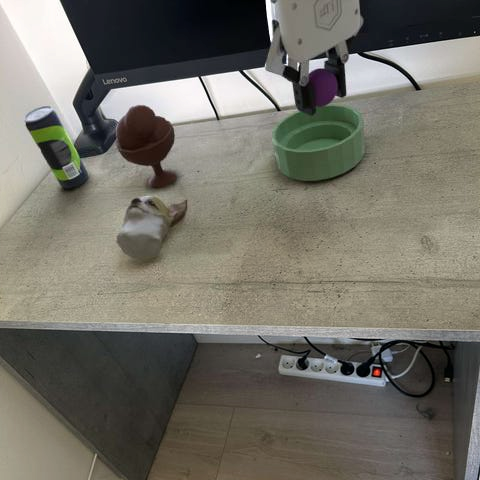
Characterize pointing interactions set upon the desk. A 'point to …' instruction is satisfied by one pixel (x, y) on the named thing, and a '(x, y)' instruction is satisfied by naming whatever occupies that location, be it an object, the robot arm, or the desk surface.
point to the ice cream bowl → (146, 142)
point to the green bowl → (319, 142)
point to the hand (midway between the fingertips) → (321, 101)
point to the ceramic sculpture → (148, 226)
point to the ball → (323, 86)
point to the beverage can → (56, 146)
